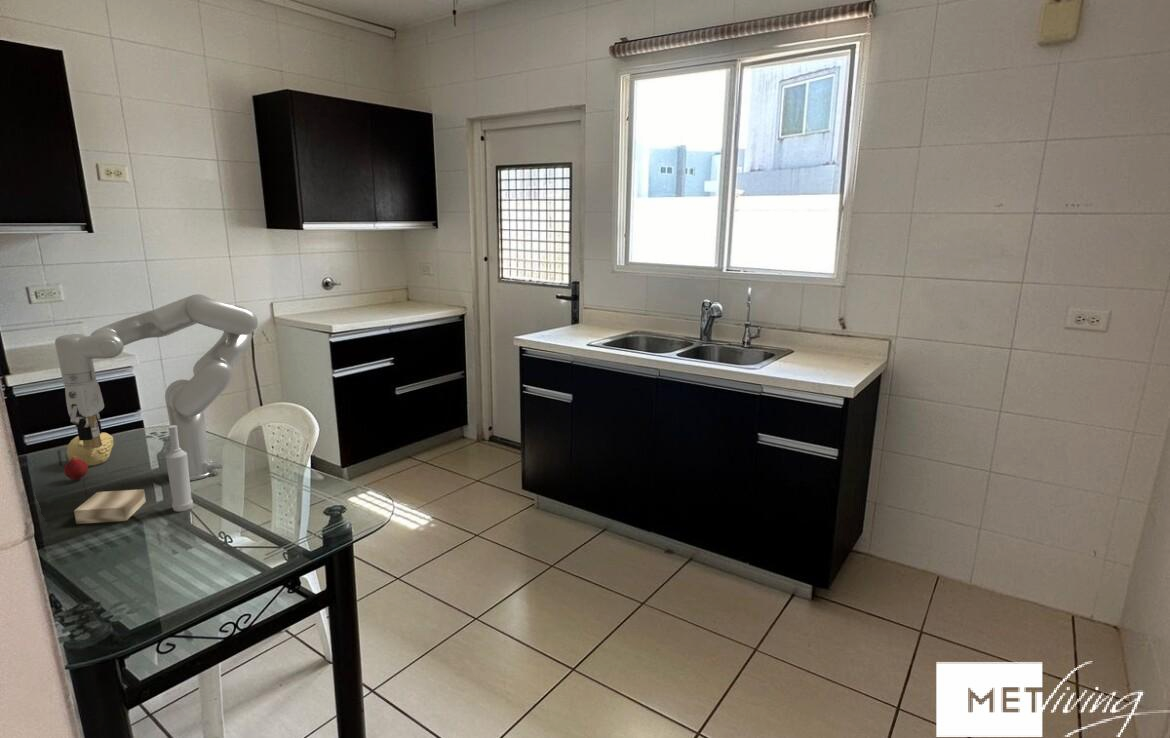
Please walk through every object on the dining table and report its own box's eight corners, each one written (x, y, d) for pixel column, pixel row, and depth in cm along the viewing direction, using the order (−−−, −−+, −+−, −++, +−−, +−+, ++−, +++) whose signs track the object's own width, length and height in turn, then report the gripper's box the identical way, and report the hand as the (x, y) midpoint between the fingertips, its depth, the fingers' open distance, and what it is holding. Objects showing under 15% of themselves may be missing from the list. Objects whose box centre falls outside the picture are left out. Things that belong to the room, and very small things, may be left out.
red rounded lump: (79, 484, 193) (75, 460, 191) (61, 483, 193) (56, 459, 192) (94, 476, 199) (90, 453, 197) (76, 476, 199) (72, 452, 197)
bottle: (197, 506, 182) (187, 425, 176) (180, 513, 177) (169, 430, 171) (186, 502, 184) (176, 422, 178) (168, 509, 179) (157, 427, 173)
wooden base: (145, 501, 183) (144, 489, 182) (126, 520, 172) (124, 507, 171) (99, 504, 181) (97, 491, 180) (76, 524, 169) (74, 510, 168)
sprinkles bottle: (101, 447, 184) (93, 404, 180) (82, 450, 181) (73, 407, 178) (103, 442, 187) (94, 400, 184) (84, 445, 185) (75, 402, 182)
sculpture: (96, 470, 204) (91, 439, 202) (60, 468, 204) (55, 438, 202) (122, 457, 215) (117, 427, 213) (88, 456, 215) (83, 426, 213)
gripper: (78, 384, 172) (90, 446, 176) (108, 369, 188) (119, 426, 192) (46, 385, 170) (59, 448, 175) (80, 370, 186) (91, 427, 191)
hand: (90, 436), depth 183 cm, fingers closed on sprinkles bottle, 4 cm apart
